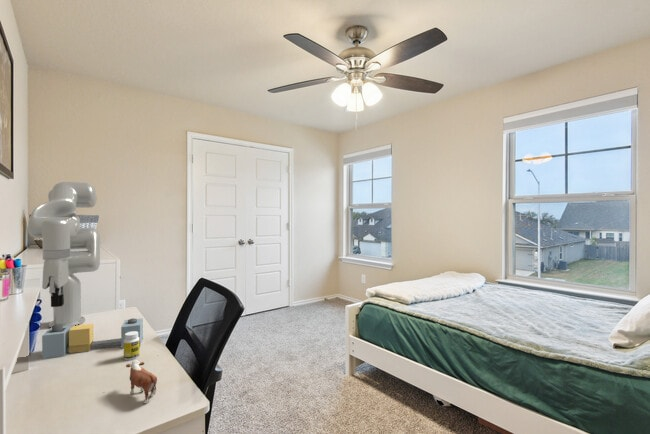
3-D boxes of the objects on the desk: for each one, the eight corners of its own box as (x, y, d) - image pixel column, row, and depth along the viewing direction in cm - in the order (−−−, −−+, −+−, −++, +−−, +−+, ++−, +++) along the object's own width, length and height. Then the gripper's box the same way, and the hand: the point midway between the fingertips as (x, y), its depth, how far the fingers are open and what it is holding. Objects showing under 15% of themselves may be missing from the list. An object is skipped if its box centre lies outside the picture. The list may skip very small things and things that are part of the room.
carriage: (73, 347, 121) (73, 325, 121) (93, 345, 123) (93, 323, 123) (69, 353, 116) (68, 330, 116) (89, 350, 118) (89, 328, 118)
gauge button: (53, 335, 118) (53, 324, 118) (64, 334, 119) (64, 323, 119) (50, 338, 115) (50, 327, 115) (61, 337, 116) (61, 326, 116)
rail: (69, 349, 119) (69, 344, 119) (124, 343, 126) (124, 337, 126) (66, 353, 117) (66, 347, 117) (122, 346, 123) (122, 340, 123)
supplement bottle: (132, 361, 111) (132, 336, 111) (120, 359, 112) (120, 335, 112) (142, 355, 116) (142, 331, 116) (131, 353, 117) (131, 330, 117)
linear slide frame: (51, 349, 120) (51, 324, 119) (142, 338, 131) (142, 315, 130) (42, 359, 112) (42, 332, 112) (140, 346, 123) (140, 322, 123)
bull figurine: (139, 383, 98) (139, 356, 97) (160, 400, 89) (160, 370, 89) (123, 389, 94) (122, 361, 94) (143, 408, 86) (143, 377, 85)
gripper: (51, 251, 122) (52, 300, 123) (34, 258, 108) (35, 314, 109) (76, 250, 124) (76, 299, 125) (62, 257, 111) (63, 311, 112)
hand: (57, 305), depth 117 cm, fingers closed
